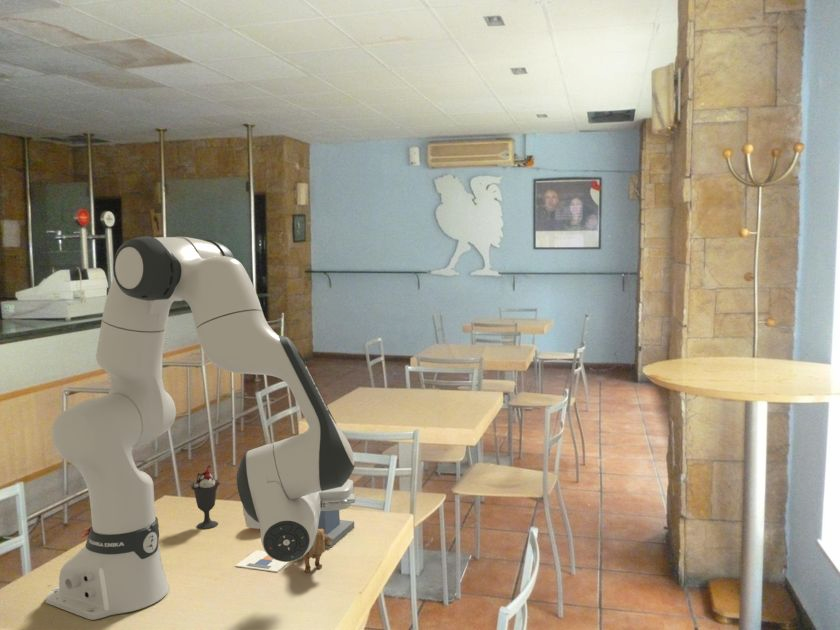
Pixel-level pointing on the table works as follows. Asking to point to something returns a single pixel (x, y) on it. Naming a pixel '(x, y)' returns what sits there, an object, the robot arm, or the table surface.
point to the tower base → (341, 531)
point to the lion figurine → (317, 549)
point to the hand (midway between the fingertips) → (301, 482)
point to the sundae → (205, 497)
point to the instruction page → (261, 562)
